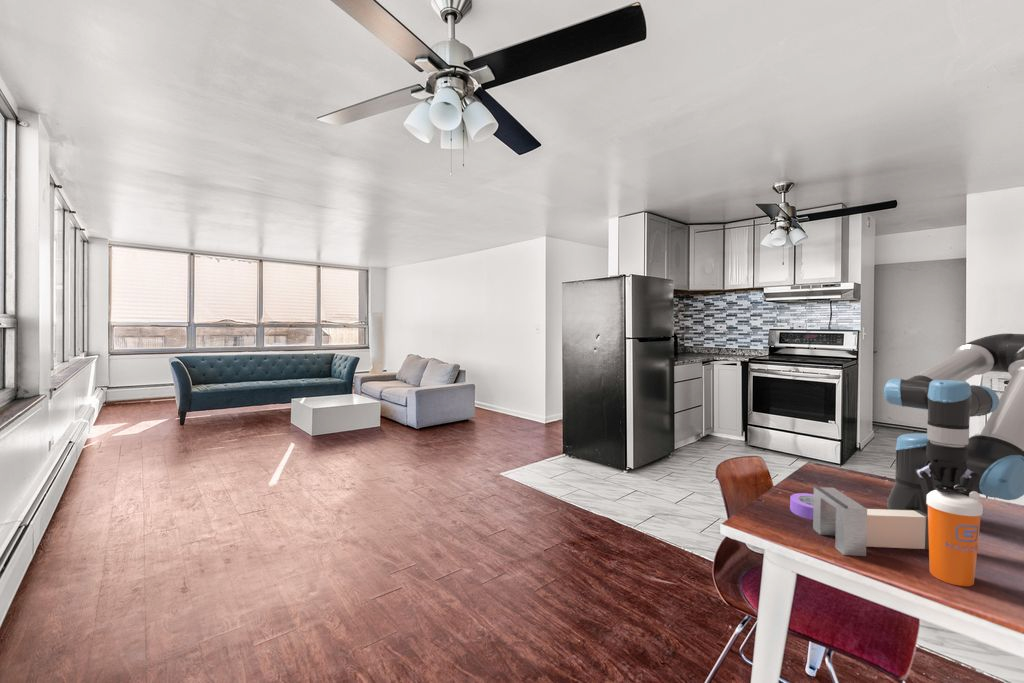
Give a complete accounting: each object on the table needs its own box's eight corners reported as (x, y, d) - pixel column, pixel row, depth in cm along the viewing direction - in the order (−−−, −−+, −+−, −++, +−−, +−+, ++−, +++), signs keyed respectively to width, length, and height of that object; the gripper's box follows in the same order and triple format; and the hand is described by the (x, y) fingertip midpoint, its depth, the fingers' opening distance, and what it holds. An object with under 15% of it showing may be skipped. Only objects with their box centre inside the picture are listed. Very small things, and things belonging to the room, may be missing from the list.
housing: (832, 529, 125) (833, 485, 124) (866, 556, 110) (867, 506, 110) (812, 528, 125) (813, 484, 125) (844, 555, 111) (845, 506, 110)
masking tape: (846, 516, 133) (846, 503, 133) (822, 525, 128) (822, 511, 127) (805, 502, 143) (805, 490, 143) (781, 510, 138) (781, 497, 138)
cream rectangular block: (917, 541, 117) (918, 510, 117) (930, 549, 113) (931, 517, 113) (849, 538, 119) (850, 507, 119) (859, 546, 115) (860, 514, 115)
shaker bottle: (913, 567, 105) (915, 481, 104) (949, 565, 106) (951, 479, 105) (953, 590, 96) (956, 496, 95) (992, 588, 97) (996, 494, 96)
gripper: (963, 439, 117) (960, 531, 118) (907, 438, 118) (904, 528, 119) (990, 448, 109) (986, 545, 110) (929, 446, 111) (926, 542, 112)
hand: (943, 536), depth 115 cm, fingers closed
